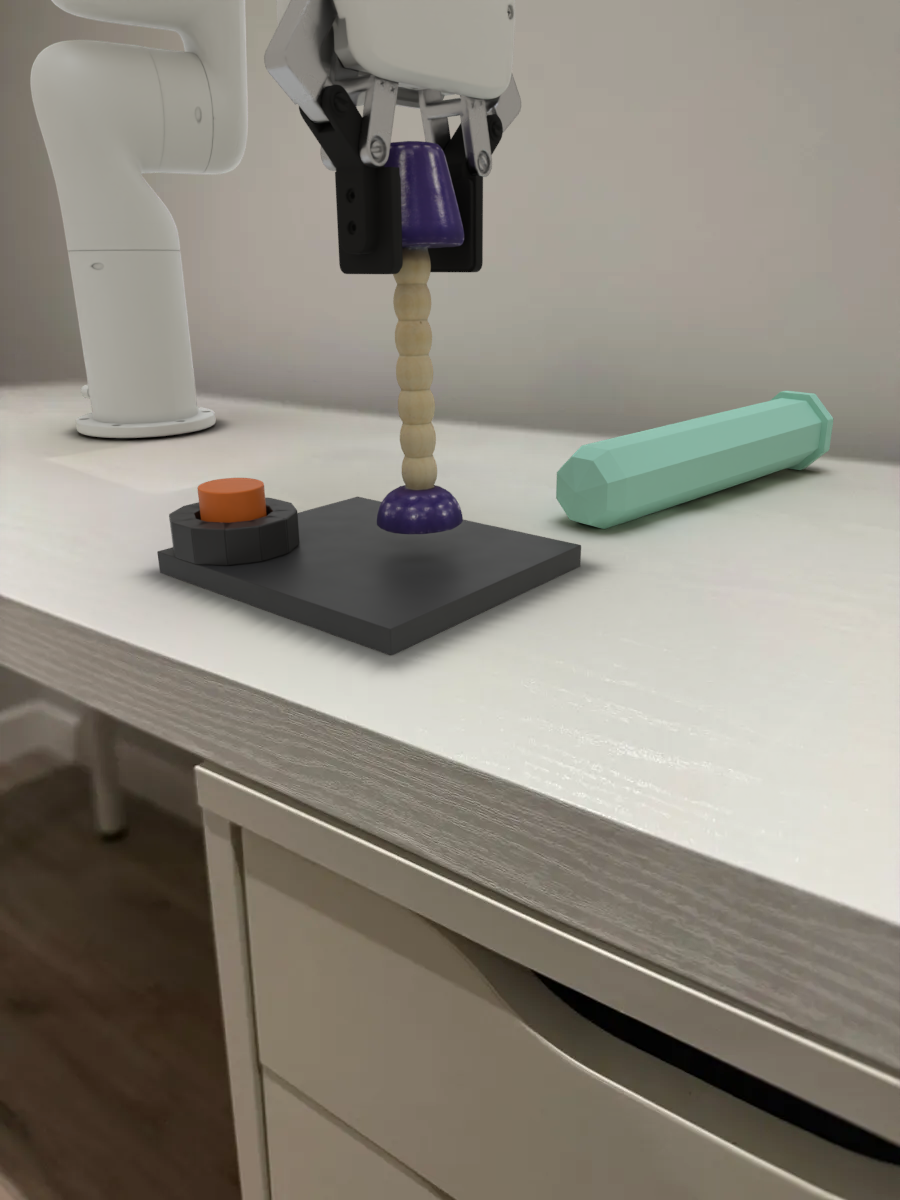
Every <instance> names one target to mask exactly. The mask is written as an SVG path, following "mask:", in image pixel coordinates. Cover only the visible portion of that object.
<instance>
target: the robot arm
mask: <svg viewBox="0 0 900 1200" xmlns="http://www.w3.org/2000/svg"><path fill="white" fill-rule="evenodd" d="M50 1H51V2H52V4H54V6H56V7H57V8H59V9H60V10H62V11H63V12H65V13H68V14H70V15H72V16H75V17H78V18H79V17H80V18H84V19H87V20H93V21H97V22H103V23H110V24H118V25H124V26H132V27H141V28H146V29H147V28H149V29H155V30H164V31H171V32H174V33H176V34H178V36H179V37H180V39H181V42H182V45H183V50H184V51H183V50H176V49H175V50H174V49H168V48H167V49H166V48H156V47H148V46H144V45H141V44H140V45H138V44H130V43H121V42H112V41H104V40H96V39H95V40H94V39H70V40H62V41H57V42H55V43H52V44H50V45H48V46H47V47H45V48H43V49H42V50H41V51H40V52H39V53H38V54H37V56H36V58H35V59H34V61H33V64H32V66H31V69H30V79H29V80H30V81H29V82H30V92H31V93H30V94H31V101H32V104H33V108H34V113H35V116H36V120H37V123H38V126H39V130H40V132H41V135H42V139H43V142H44V146H45V149H46V153H47V155H48V160H49V164H50V167H51V171H52V175H53V179H54V183H55V187H56V192H57V198H58V202H59V208H60V212H61V213H60V214H61V218H62V226H63V231H64V238H65V243H66V250H67V255H68V263H69V268H70V269H69V270H70V275H71V282H72V288H73V289H72V290H73V296H74V303H75V310H76V315H77V321H78V328H79V335H80V342H81V347H82V354H83V361H84V362H83V363H84V368H85V375H86V380H87V382H86V383H87V384H84V385H82V387H81V388H80V394H81V396H82V397H83V399H88V400H89V402H90V407H91V412H89V413H85V414H82V415H80V416H78V417H77V418H76V419H75V426H76V431H77V432H78V433H79V434H80V435H84V436H89V437H94V438H95V437H97V438H106V439H137V438H140V439H141V438H156V437H166V436H167V437H168V436H174V435H175V436H176V435H182V434H189V433H193V432H199V431H203V430H206V429H208V428H211V427H212V426H215V424H216V423H217V419H216V412H215V411H214V410H213V409H211V408H207V407H203V406H198V397H197V387H196V379H195V369H194V362H193V351H192V343H191V334H190V324H189V315H188V314H189V313H188V305H187V297H186V287H185V277H184V268H183V261H182V252H181V243H180V236H179V231H178V230H179V229H178V227H177V224H176V222H175V220H174V217H173V215H172V213H171V212H170V210H169V208H168V207H167V205H166V204H165V203H164V202H163V200H162V199H161V198H160V197H159V195H158V194H157V193H156V191H155V189H153V187H151V185H150V184H149V183H148V181H147V180H146V178H145V177H144V176H143V174H155V173H156V174H157V173H158V174H159V173H161V174H179V175H180V174H183V175H206V176H207V175H208V176H209V175H210V176H211V175H222V174H227V173H230V172H232V171H234V170H235V169H236V168H237V167H238V166H239V165H240V164H241V163H242V161H243V158H244V156H245V152H246V150H247V149H246V148H247V143H248V135H249V132H248V131H249V98H248V96H249V92H248V90H249V89H248V59H247V55H248V54H247V19H246V17H247V14H246V0H50ZM275 6H276V7H275V9H276V26H277V27H276V29H275V31H274V33H273V35H272V37H271V39H270V41H269V43H268V45H267V47H266V49H265V52H264V55H263V63H264V67H265V69H266V71H267V72H268V74H269V75H270V77H271V78H272V79H273V80H274V82H275V83H277V85H278V86H279V88H281V90H282V91H283V92H284V93H285V94H286V96H287V97H288V98H289V99H290V101H292V103H293V104H294V105H296V106H298V110H299V114H300V116H301V118H302V120H303V121H304V122H305V124H306V126H307V127H308V128H309V130H310V131H311V134H312V135H313V136H314V137H315V139H316V141H317V142H318V144H319V145H320V159H321V162H322V165H323V166H324V167H325V169H327V170H328V171H332V172H334V180H335V196H336V197H335V202H336V221H337V242H338V243H337V244H338V245H337V246H338V263H339V264H338V265H339V269H340V271H341V272H342V273H343V274H345V275H393V274H397V273H399V271H400V270H401V268H402V266H403V255H402V213H401V178H400V175H399V168H398V167H385V163H386V162H387V160H388V157H389V151H390V143H392V135H393V129H394V120H395V114H396V113H395V112H396V107H402V108H408V109H416V110H420V116H421V123H422V129H423V135H424V142H431V143H435V144H438V145H439V146H440V147H441V148H442V150H443V152H444V154H445V158H446V161H447V165H448V169H449V173H450V177H451V181H452V185H453V189H454V192H455V196H456V200H457V204H458V208H459V213H460V217H461V221H462V225H463V230H464V241H463V244H462V245H460V246H456V247H442V248H428V253H429V257H430V262H431V270H430V273H478V272H480V271H481V269H482V268H483V260H484V259H483V257H484V251H483V250H484V249H483V248H484V247H483V246H484V178H487V177H488V176H489V175H490V174H491V172H492V169H493V157H492V155H493V154H494V152H495V150H496V149H497V147H498V145H499V144H500V143H501V140H502V138H503V135H504V133H505V132H506V130H507V129H508V128H509V127H510V126H511V124H512V123H513V122H514V121H515V119H516V118H517V117H518V116H519V114H520V112H521V109H522V99H521V95H520V93H519V89H518V87H517V84H516V80H515V78H514V74H513V67H514V57H515V55H514V54H515V40H516V39H515V38H516V37H515V36H516V0H275ZM453 95H458V96H459V97H456V98H455V97H454V98H449V99H445V97H446V96H453ZM361 106H363V109H362V115H361V113H360V111H359V110H358V107H361ZM457 116H458V117H459V118H460V124H459V125H458V127H457V128H456V129H455V132H454V133H453V135H452V136H451V131H450V124H449V118H450V117H457Z"/></svg>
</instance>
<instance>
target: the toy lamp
mask: <svg viewBox="0 0 900 1200" xmlns="http://www.w3.org/2000/svg"><path fill="white" fill-rule="evenodd" d="M385 167H398V168H399V175H400V178H401V213H402V255H403V266H402V268H401V270H400V271H399V273H397V274H392V277H393V278H394V281H395V283H396V287H395V289H394V292H393V300H392V302H393V303H392V304H393V311H394V313H395V316H396V318H397V323H396V324H395V329H394V344H395V348H396V350H397V352H398V357H397V360H396V365H395V378H396V382H397V385H398V386H399V389H400V392H399V394H398V398H397V412H398V416H399V418H400V420H401V421H402V424H401V428H400V431H399V445H400V449H401V451H402V453H403V460H402V463H401V477H402V481H403V483H404V485H399V486H398V487H396V488H394V489H392V490H391V491H390V492H388V493H387V494H386V495H385V496H384V498H383V499H382V501H380V502H381V504H380V507H379V510H378V514H377V526H378V527H380V528H381V529H383V530H385V531H388V532H392V533H399V534H429V533H437V532H443V531H447V530H451V529H453V528H455V527H457V526H459V525H460V524H461V523H462V521H463V520H464V517H463V512H462V509H461V506H460V503H459V502H458V501H457V498H456V497H455V496H454V495H453V493H452V492H450V491H449V490H448V489H446V488H444V487H442V486H440V485H436V481H437V478H438V467H437V466H438V465H437V461H436V459H435V457H434V452H435V450H436V444H437V434H436V430H435V426H434V425H433V423H432V422H433V420H434V419H433V418H434V416H435V411H436V404H435V403H436V401H435V397H434V394H433V392H432V390H431V386H432V384H433V380H434V367H433V362H432V359H431V356H430V351H431V349H432V343H433V332H432V327H431V325H430V322H429V317H430V314H431V310H432V295H431V290H430V289H429V287H428V282H429V280H430V277H431V272H430V270H431V262H430V257H429V253H428V248H442V247H456V246H460V245H462V244H463V241H464V230H463V225H462V221H461V217H460V213H459V208H458V204H457V200H456V196H455V192H454V189H453V185H452V181H451V177H450V173H449V169H448V165H447V161H446V158H445V154H444V152H443V150H442V148H441V147H440V146H439V145H438V144H435V143H431V142H426V141H422V140H421V141H420V140H404V141H393V142H392V141H391V143H390V151H389V157H388V160H387V162H386V163H385Z"/></svg>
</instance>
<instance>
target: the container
mask: <svg viewBox="0 0 900 1200" xmlns="http://www.w3.org/2000/svg"><path fill="white" fill-rule="evenodd" d="M833 424H834V417H833V416H832V415H831V413H830V412H829V411H828V409H827V408H826V406H825V405H824V403H823V402H822V401H821V400H820V398H819V397H818V395H817V394H816V393H812V392H803V391H793V390H783V391H779V392H778V393H777V394H776V395H775V396H773V397H772V398H771V399H770V400H767V401H763V402H759V403H754V404H751V405H750V404H749V405H747V406H743V407H737V408H733V409H729V410H725V411H721V412H717V413H712V414H707V415H704V416H699V417H696V418H692V419H691V418H690V419H687V420H683V421H677V422H675V423H669V424H666V425H663V426H657V427H654V428H649V429H645V430H641V431H637V432H633V433H627V434H624V435H619V436H615V437H612V438H607V439H603V440H599V441H594V442H590V443H586V444H581V446H580V447H578V448H577V449H576V451H575V452H574V453H573V454H572V455H571V456H570V457H569V458H568V459H567V461H565V463H564V464H562V466H561V467H560V468H559V469H558V470H557V471H556V484H555V485H556V488H555V489H556V491H555V499H556V500H557V502H558V504H559V505H560V507H561V508H562V510H563V512H564V513H565V515H566V517H567V518H568V519H569V520H570V521H573V522H576V523H579V524H584V525H586V526H591V527H594V528H597V529H602V530H605V529H609V528H613V527H615V526H618V525H621V524H625V523H628V522H631V521H633V520H636V519H640V518H642V517H646V516H649V515H651V514H654V513H658V512H661V511H664V510H666V509H669V508H672V507H676V506H678V505H681V504H684V503H687V502H690V501H693V500H696V499H699V498H702V497H705V496H708V495H711V494H714V493H717V492H720V491H722V490H725V489H729V488H731V487H734V486H738V485H740V484H744V483H747V482H749V481H752V480H756V479H758V478H761V477H765V476H769V475H771V474H774V473H777V472H780V471H782V470H785V469H788V470H789V469H790V470H795V471H803V470H805V469H806V468H808V467H810V466H811V465H812V464H813V463H814V462H816V461H817V460H818V459H819V458H821V457H823V456H824V455H825V454H826V453H827V452H829V451H830V448H831V440H832V433H833V427H834V425H833Z"/></svg>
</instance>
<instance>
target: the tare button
mask: <svg viewBox="0 0 900 1200" xmlns="http://www.w3.org/2000/svg"><path fill="white" fill-rule="evenodd" d="M196 490H197V498H198V502H199V506H200V515H201V520H202V521H206V522H224V523H231V522H241V521H250V520H254V519H258V518H262V517H265V516H267V514H266V502H265V497H266V494H265V493H266V491H265V490H266V489H265V483H264V482H263V480H260V479H256V478H250V477H225V478H218V479H212V480H207V481H205V482H203V483H201V484H198V486H197V489H196Z"/></svg>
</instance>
